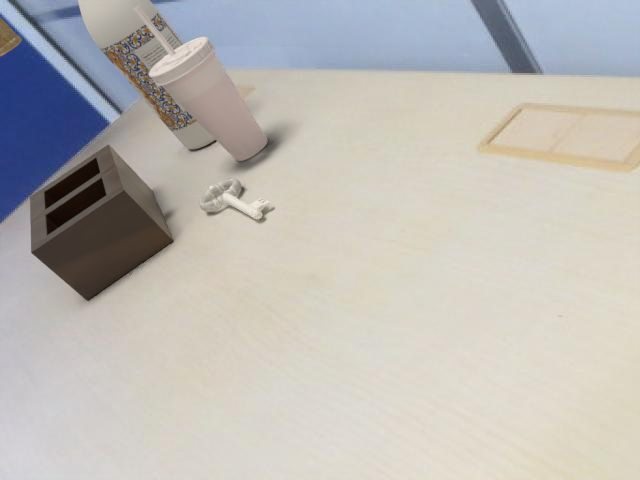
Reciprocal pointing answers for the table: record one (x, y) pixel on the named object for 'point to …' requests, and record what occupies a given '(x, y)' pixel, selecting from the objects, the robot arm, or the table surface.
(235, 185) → the key
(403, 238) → the table surface
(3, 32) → the sprinkles bottle
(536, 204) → the table surface
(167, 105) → the bath foam
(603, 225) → the table surface
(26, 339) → the table surface
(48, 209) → the two-slot toaster box
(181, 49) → the smoothie
